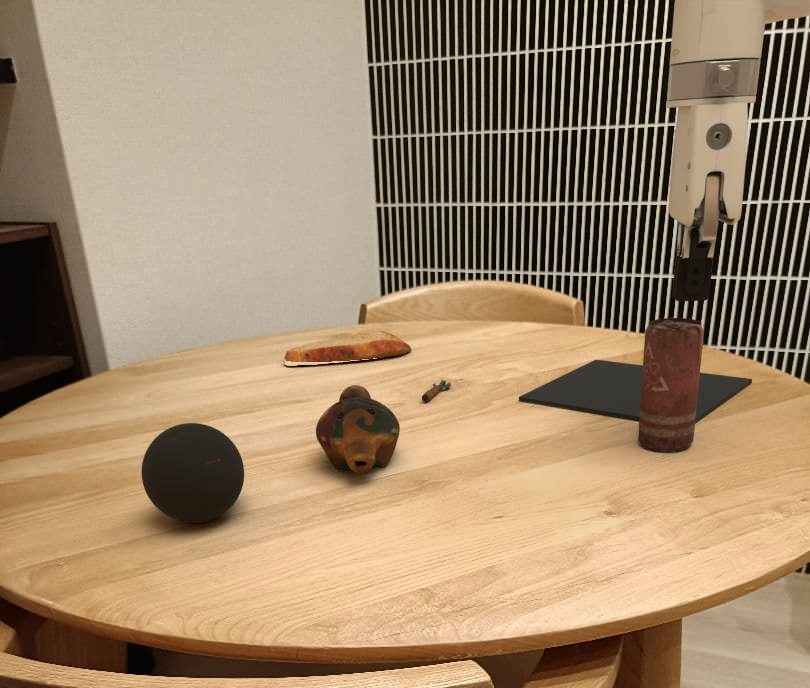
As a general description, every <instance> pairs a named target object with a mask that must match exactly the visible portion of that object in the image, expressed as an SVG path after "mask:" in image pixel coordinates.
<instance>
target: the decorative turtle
mask: <svg viewBox="0 0 810 688" xmlns="http://www.w3.org/2000/svg"><path fill="white" fill-rule="evenodd" d="M400 427H401V426H400V422H399V420H398V418H397V417H396V415H395V414H394V412H393V411H392V410H391V409H390V408H388V406H386V405H385V404H383V403H382V402H380V401H378V400H376V399H373V398H372V397H371V394H370V392H369V391H368V389H367V388H365V387H364V386H362V385H359V384H352V385H349V386H347V387H346V388H345V389H344V390H342V392H340V396H339V399H338V401H337V402H335V403H333V404H332V405H331V406H329V407H328V408H327V409H325V411H324V412H323V413H322V415H321V416H320V417H319V419H318V421H317V423H316V427H315V436H316V439H317V441H318V443H319V446H320V447H321V449H322V450H323V452H324V454H325V456H326V457H327V458H328V460H329V462H330V464H331V465H332V467H333V468H334V469H335V470H337V471H339V470H344V471H345V470H346V469H348V467H349V469H350V470H351V471H352V472H354V473H357V474H363V473H367V472H369V471H370V470H372V468H374V465H377V466H379V467H380V466H381V467H386V466H388V465H389V463H390V462H391V460H392V458H393V456H394V453H395V450H396V446H397V444H398V440H399V437H400V431H401V428H400ZM381 467H380V468H381Z"/></svg>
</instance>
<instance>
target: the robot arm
mask: <svg viewBox="0 0 810 688" xmlns="http://www.w3.org/2000/svg"><path fill="white" fill-rule="evenodd" d="M808 16H810V0H674V5H673V19H672V32H671V42H670V43H671V45H670V55H669V56H670V57H669V69H668V79H667V93H666V104H665V108H666V109H670V108H671V109H672V108H673V109H674V108H677V115H676V123H675V130H674V140H673V148H672V158H671V168H670V180H669V195H668V213H669V216H670V217H671V218H672V219H674V220H675V221H677V222H678V227H677V228H678V231H677V243H676V244H677V245H676V256H675V261H674V272H673V281H672V282H673V283H672V295H671V296H672V298H673V300H675V301H676V302H704V301H707V300H709V298H710V293H711V284H712V283H711V282H712V276H713V275H712V274H713V265H714V253H715V248H716V241H717V235H718V227H719V221H720V222H722V223H724V224H726V225H728V226H729V225H731V226H733V225H736V224H737V223H738V222H739V221H740V220H741V216H742V209H743V197H744V188H745V187H744V186H745V176H746V175H745V174H746V173H745V172H746V164H747V163H746V161H747V148H748V147H747V146H748V127H749V126H748V123H749V116H748V115H749V112H748V111H749V109H748V108H749V107H748V104H754V103H756V99H757V96H756V95H757V92H758V83H759V76H760V68H761V59H762V51H763V43H764V36H765V27H766V25H767V24H772V23H777V22H781V21H786V20H790V19H791V20H793V19H800V18H805V17H808Z"/></svg>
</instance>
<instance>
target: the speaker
mask: <svg viewBox="0 0 810 688" xmlns="http://www.w3.org/2000/svg"><path fill="white" fill-rule="evenodd" d="M243 461H244V460H243V458H242V456H241V453H240V451H239V449H238V447H237V446H236V444H235V443H234V442H233V441H232V440H231V438H230V437H229V436H227V434H225V433H223V432H222V431H221V430H219V429H218V428H215V427H213V426H211V425H207V424H204V423H198V422H185V423H180V424H176V425H173V426H171V427H168V428H167V429H165V430H163V431H162V432H161V433H159V434H157V436H156V437H155V438H154V439H153V440H152V441H151V442H150V444H149V445H148V447H147V448H146V450H145V453H144V455H143V458H142V463H141V480H142V486H143V489H144V491H145V493H146V495H147V497H148V499H149V501H150V502H151V503H152V505H154V507H155V508H156V509H157V510H158V511H160V512H161V513H162V514H164V515H165V516H167V517H168V518H171V519H173V520H176V521H179V522H182V523H187V522H188V524H189V523H190V524H199V522H200V523H205V521H206V522H209V520H210V521H213V520H215V519H217V518H219V517H221V516H222V515H224V514H225V513H226V512H228V511H229V510H230V509H231V507H233V506H234V505H235V504H236V502H237V500H238V499H239V497H240V495H241V492H242V490H243V487H244V483H245V465H244V462H243ZM212 519H213V520H212Z"/></svg>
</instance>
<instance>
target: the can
mask: <svg viewBox="0 0 810 688" xmlns="http://www.w3.org/2000/svg"><path fill="white" fill-rule="evenodd" d="M704 334H705V331H704V329H703V326H702V322H701V321H699V320H697V319H692V318H687V317H684V318H683V317H665V318H658V319H653V320H651V321H650V322H648V325H647V327H646V328H645V330H644V343H643V359H642V360H643V361H642V365H643V372H642V387H641V402H640V417H639V421H638V433H637V441H638V442H639V444H640V446H641V447H643V448H644V449H646V450H648V451H652V452H657V453H678V452H683V451H685V450H687V449H688V448H690V447H691V445H692V444H693V442H694V437H695V429H696V428H695V426H696V423H695V418H696V408H697V397H698V387H699V377H700V373H701V366H702V365H701V364H702V356H703V348H704V336H705V335H704Z"/></svg>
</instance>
